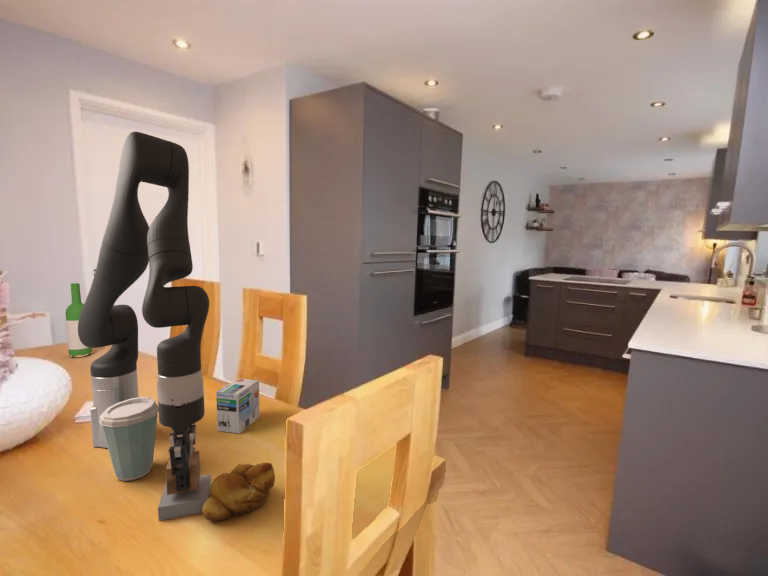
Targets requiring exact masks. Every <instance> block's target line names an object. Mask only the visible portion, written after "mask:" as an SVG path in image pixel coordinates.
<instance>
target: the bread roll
mask: <svg viewBox="0 0 768 576" xmlns="http://www.w3.org/2000/svg"><path fill="white" fill-rule="evenodd" d="M275 480H276V476H275V470H274V467H273V464H272V463H270V462H261V463H257V464H252V463H251V464H250V463H243V464H241V463H239V464H238V465H236V466H235V467H234V468H233V469H232V470H231V471H230V472H222V473H221V474H219V475H217V476H216V477H215V478H214V479H213V480H211V486H210V496H209V498H207V500H206V502H205V503H204V505H203V508H202V515H203V517H204V518H205V519H206V520H207V521H208V520H209V521H211V522H212V521H213V522H219V521H224V520H226V519H229V518H230V517H232V516H234V515H242V514H243V515H244V514H247V513H250V512H252V511H256V510H257V509H258V508H259V507H261V506H262V505H263V504H265V502H266V501H267V499H268V498H269V495H270V490H271V489H272V488H273V487H274V486H275V483H276V481H275Z"/></svg>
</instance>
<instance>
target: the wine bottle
mask: <svg viewBox="0 0 768 576" xmlns="http://www.w3.org/2000/svg"><path fill="white" fill-rule="evenodd" d="M80 285H81V284H80V283H77V282H76V283H75V282H74V283H70V294H71V295H70V297H71V303H70V304H69V305H68V306H67V307H66V310H65V325H66V335H67V336H66V337H67V338H66V339H67V346H68V347H67V348H68V355H72V356H77V355H85V354H89V353H91V352H92V353H93V348H89V347H86V346H84V345H83V344H82V343H81V341H80V339H79V336H78V321H79V317H80V314H81V311H82V308H83V306H84V303H83V302H82V296H81V295H82V294H81V286H80Z"/></svg>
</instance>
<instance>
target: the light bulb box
mask: <svg viewBox="0 0 768 576" xmlns="http://www.w3.org/2000/svg"><path fill="white" fill-rule="evenodd" d="M215 393H216V395H215V396H216V398H215V399H216V423H217V431H218V432H225V433H234V434H241V433H242V432H244V431H245V430H246V429H247V428H248V427H250V426H251V425H252V424H253V423H255V421H257V420H258V419H259V418H260V416H261V415H260V414H261V413H260V412H261V411H260V381H259V380H258V379H257V380H255V379H246V378H236V379H235V380H233V381H231V382H230V383H228V384H227V385H224V386H223V387H221V388H220V389H218V390H217V391H216V392H215Z"/></svg>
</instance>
